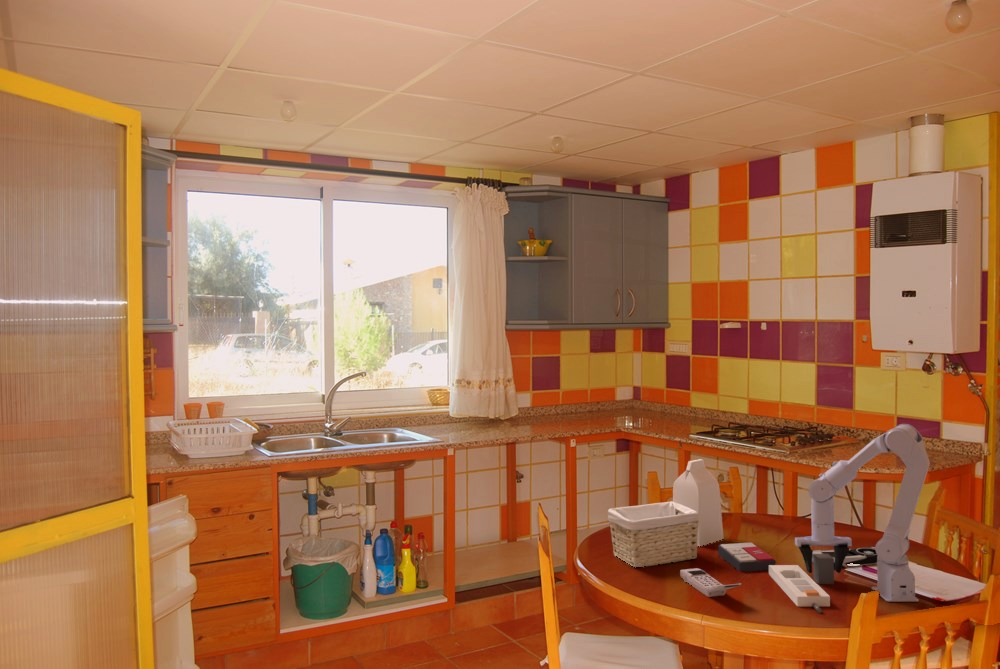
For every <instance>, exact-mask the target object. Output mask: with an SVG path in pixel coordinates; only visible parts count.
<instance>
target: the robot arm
mask: <svg viewBox="0 0 1000 669" xmlns="http://www.w3.org/2000/svg"><path fill="white" fill-rule="evenodd" d="M890 452H892V453H894V454H895V455H896V456H898V457H899V458H900V459H901V461H902V462H903V464H904V465H905V471H904V474H903V476H902V480H901V484H900V487H899V490H898V492H897V496H896V500H895V502H894V505H893V508H892V512H891V515H890V518H889V520H888V524H887V526H886V528H885V530H884V532H883V536H882V538H880V539H879V540H878V541H876V544H875V546H874V547H875V550H876V553H877V555H878V556H877V565H876V566H877V567H876V568H877V574H876V575H877V586H872V587H871V590H873V591H874V590H878V591H879V592H880V595H879V596H880V597H881V599H883V600H885V601H886V602H888V603H889V602H891V603H892V602H894V603H895V602H903V603H904V602H909V603H910V602H919V598H918V597H916V577H915V575H914V573H913V571H912V570H911V569H910V566H909V558H908V556H907V555H906V553H907V551H908V550H909V549H910V540H909V535H910V532H911V531H910V528H911V524H912V521H913V517H914V514H915V512H916V509H917V505H918V503H919V501H920V500H919V499H920V497H921V493H922V490H923V487H924V484H925V481H926V477H927V476H928V475H927V474H928V471H929V468H930V465H931V464H930V458H929V456H928V452H927V450H926V447H925V443H924V438H923V436H922V434H921V433H920V432H919V431H918V430H917V428H915V427H914V426H913V425H911V424H908V423H901V424H898V425H896V426H895V427H894V428H891V429H889V430H887V431H886V432H884V433H883V434H881V435H879V436H877V437H875V438H874V439H872V440H871V441H870V442H869V443H868V444H866V445H865V446H864V447H863V448H862V449H861V450H859V451H858V452H857V453H856V454H854V455H853V456H852V457H851V458H850V459H849V460H844V459H840V460H839V461H838V460H835V461H834V462H833V463H832V464H831V465H832V466H831V467H830V468H829V469H828V470H826V471H825V472H821V473H819V475H818V476H819V477H818V478H817V479H814V480H813V481H812V482H811V483H810V484H809V486H808V488H807V490H808V494H809V496H810V499H811V501H810V502H811V507H810V512H811V513H810V515H811V516H810V517H811V535H810V536H800V537H799V536H798V537H794V545H795V546H796V547H797V548H798V549H799V551H800V553H801V555H802V557H803V560H804V565H805V568H806V571H807V573H809V574H813V563H812V553H813V551H814V550H812V549H811V548H812V547H814V546H816V547H817V546H818V547H819V546H822V547H823V546H824V547H825V546H826V547H827V546H831V547H832V546H833V550H834V553H835V568H834V572H836V573H838V574H841V572H842V568H843V567H842V565H843V562H844V559H845V557H846V556H847V554H848V552H849V549H850V548H849V547H853V546H852V545H853V544H852V542H853V541H852V538H851V537H850V536H849V537H848V536H835V506H834V504H835V503H834V496H835V495H836V494H837V492H840V491H841V489H843V488H845V487H846V486H847V485H849V483H851V482H853V481H854V480H855V479H856V478H857V477H858V470H859V469H860V468H862V467H863V466H864V465H865V464H867V463H868V462H870V461H871V460H872V459H873V458H875V457H876V456H878V455H879V454H888V453H890ZM811 546H812V547H811Z"/></svg>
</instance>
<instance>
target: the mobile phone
mask: <svg viewBox="0 0 1000 669" xmlns="http://www.w3.org/2000/svg"><path fill="white" fill-rule="evenodd" d="M679 575H680V578H682V580H684V581H683V582H684V583H685V582H687V584H688V583H689V584H688V585H689V586H691V585H692V586H691V587H693V588H694V589H695V590H697V591H698V592H700V593H701V594H703V595H704V596H706V597H707V598H711V597H719V596H721V597H722V596H725V594H726V592H727V590H729V589H734V588H736V587H739V586H741V585H742V583H741V582H739V583H734V584H722V583H721V582H719V581H718V580H717V579H715V578H714V577H712V576H711V575H710V574H709V573H707V572H706V571H705V570H703V569H701V568H697V567H696V568H695V567H694V568H687V569H686V568H685V569H680V571H679Z"/></svg>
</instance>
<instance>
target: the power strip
mask: <svg viewBox="0 0 1000 669" xmlns="http://www.w3.org/2000/svg"><path fill="white" fill-rule="evenodd" d="M768 575H769V576H770V577H771V579H772V580H773V581H774V582H775V584H777V585H778V586H779V587H780V589H781V590H782V591H783V592H784V593H785V594H786V595H787V596H788V597H789V598H790V600H791V601H792V602H793V603H794V604H795V606H796V607H812V608H814V609H815V611H817V612H818V614H822V613H823V609H822V608H821V607H830V606H831V597H830V595H829V594H828V593H827V592H826V591H825V590H824V589H823V588H822V587H821V586H820V584H818V583H817V582H816V581H815V580H814V579H813V578H812V577H811V576H809V575H808V573H807V572H806V571H804V570H803V569H802V567H800V566H799V565H798V564H790V565H789V564H780V565H779V564H776V565H769V570H768Z"/></svg>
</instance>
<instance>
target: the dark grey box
mask: <svg viewBox="0 0 1000 669" xmlns="http://www.w3.org/2000/svg"><path fill="white" fill-rule="evenodd" d="M719 556H720V557H722V558H723V559H724V560H723V559H722V558H721V559H722V560H723V561H725V560H726V562H727V563H728V564H729V563H730V564H731V565H732V566H731V565H730V564H729V565H730V566H731V567H733V568H734V567H735V568H736V569H735V568H734V569H735V570H737V571H738V570H739V571H738V572H740V573H742V571H746V572H758V571H759V570H760V571H769V565H777V563H776V559H774V557H773V556H771V555H770V554H769V553H768V552H766V551H764V550H763V549H762V548H760V547H759V546H757V545H755V544H754V543H753V542H737V543H722V544H721V543H720V544H719V545H718V557H719ZM720 557H719V558H720Z"/></svg>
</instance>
